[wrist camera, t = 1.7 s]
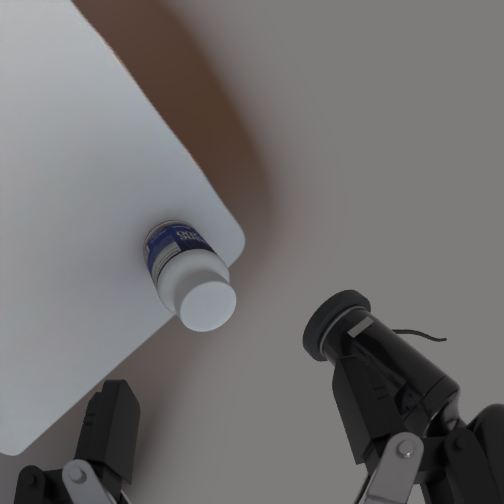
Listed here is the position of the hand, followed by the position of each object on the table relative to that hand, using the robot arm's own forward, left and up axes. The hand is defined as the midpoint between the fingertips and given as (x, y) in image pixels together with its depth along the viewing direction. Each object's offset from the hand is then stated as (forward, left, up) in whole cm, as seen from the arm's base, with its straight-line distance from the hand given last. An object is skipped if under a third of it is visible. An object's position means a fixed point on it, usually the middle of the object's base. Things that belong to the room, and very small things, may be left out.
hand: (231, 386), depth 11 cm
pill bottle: (-4, +1, -18) cm, 19 cm away
